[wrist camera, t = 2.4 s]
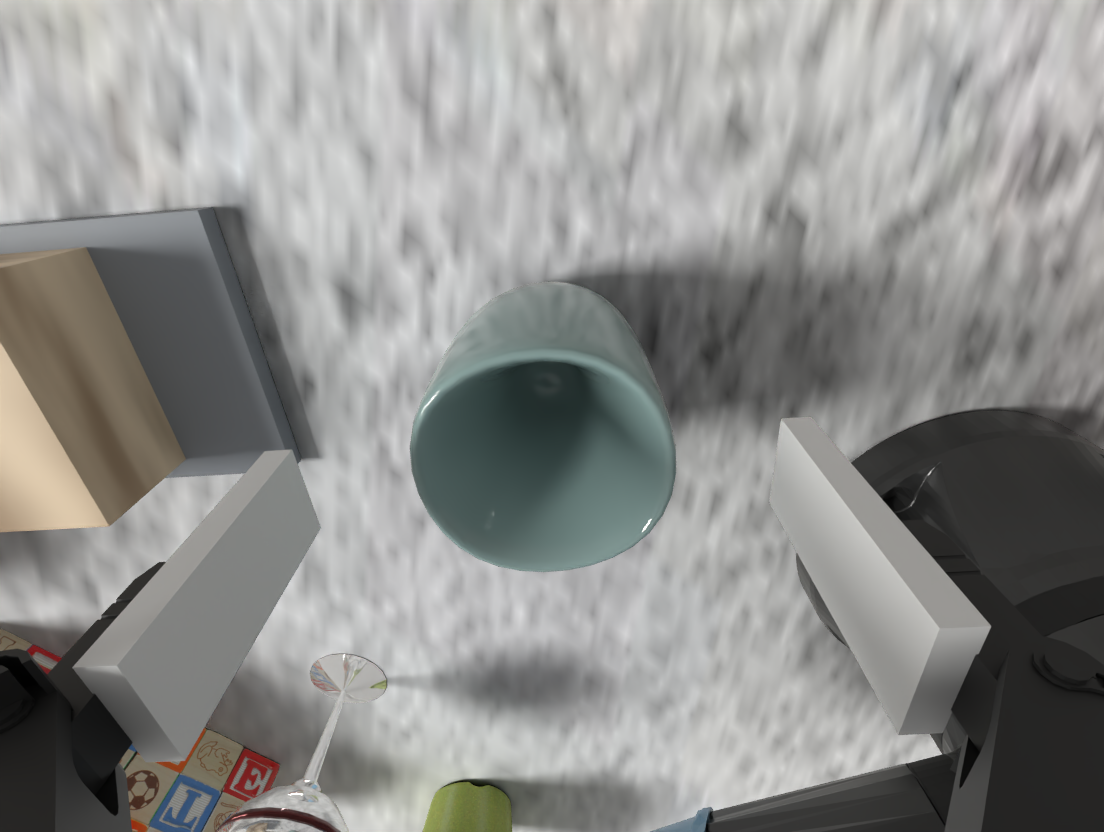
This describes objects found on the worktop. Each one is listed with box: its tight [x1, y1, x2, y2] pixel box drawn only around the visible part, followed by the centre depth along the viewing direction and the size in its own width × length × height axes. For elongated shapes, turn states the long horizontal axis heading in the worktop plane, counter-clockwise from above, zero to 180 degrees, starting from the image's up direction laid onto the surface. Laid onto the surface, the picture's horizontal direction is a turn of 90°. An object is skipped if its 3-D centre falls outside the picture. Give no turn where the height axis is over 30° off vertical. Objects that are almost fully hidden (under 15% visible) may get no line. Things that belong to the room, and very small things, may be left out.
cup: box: [410, 281, 676, 572], centre depth 20 cm, size 8×8×10 cm
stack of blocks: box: [0, 628, 280, 832], centre depth 32 cm, size 21×6×12 cm, turn 46°
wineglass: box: [216, 654, 387, 832], centre depth 30 cm, size 7×7×12 cm
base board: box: [0, 207, 301, 478], centre depth 24 cm, size 20×12×1 cm, turn 94°
